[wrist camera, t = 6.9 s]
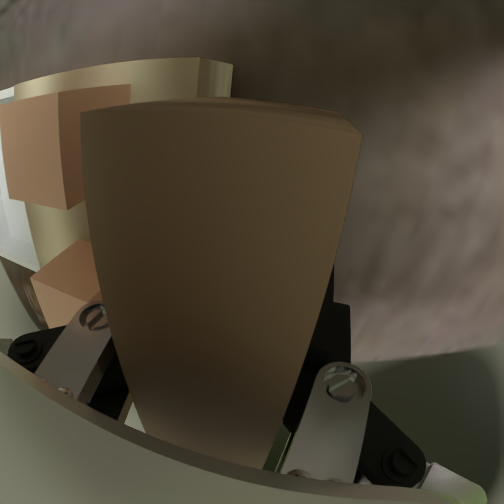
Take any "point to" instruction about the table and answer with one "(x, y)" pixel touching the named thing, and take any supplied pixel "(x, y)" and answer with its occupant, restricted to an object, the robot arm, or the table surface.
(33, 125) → the pink cube
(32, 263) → the tray
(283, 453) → the robot arm
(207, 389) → the brown tapered block
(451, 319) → the table surface
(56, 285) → the tan wooden cube
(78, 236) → the beige flat block
